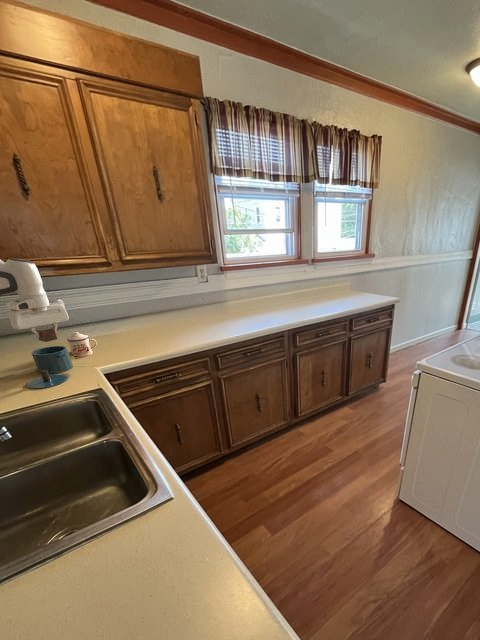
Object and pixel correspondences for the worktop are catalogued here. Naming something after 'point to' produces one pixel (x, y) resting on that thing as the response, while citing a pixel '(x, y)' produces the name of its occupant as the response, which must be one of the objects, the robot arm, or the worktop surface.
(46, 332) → the block
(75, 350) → the teacup with lid
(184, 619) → the worktop surface
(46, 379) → the lid
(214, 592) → the worktop surface
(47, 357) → the tin
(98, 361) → the worktop surface
